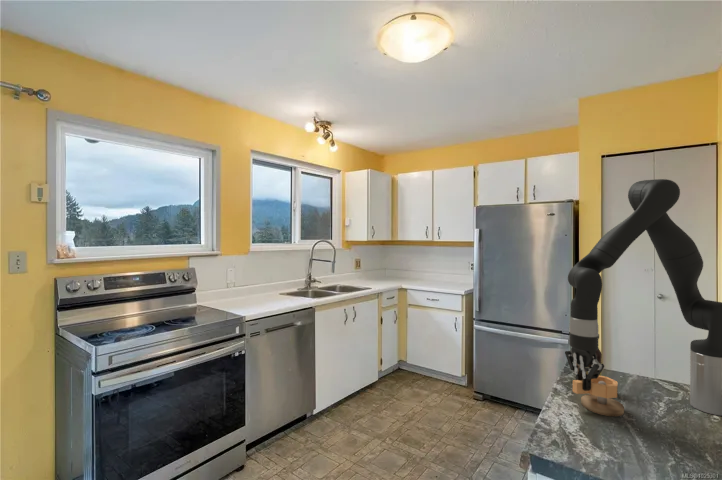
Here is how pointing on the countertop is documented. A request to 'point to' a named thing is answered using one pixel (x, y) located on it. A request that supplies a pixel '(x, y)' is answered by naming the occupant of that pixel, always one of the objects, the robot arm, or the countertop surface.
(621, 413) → the round wooden base
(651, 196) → the robot arm
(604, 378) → the ring
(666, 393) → the countertop surface
